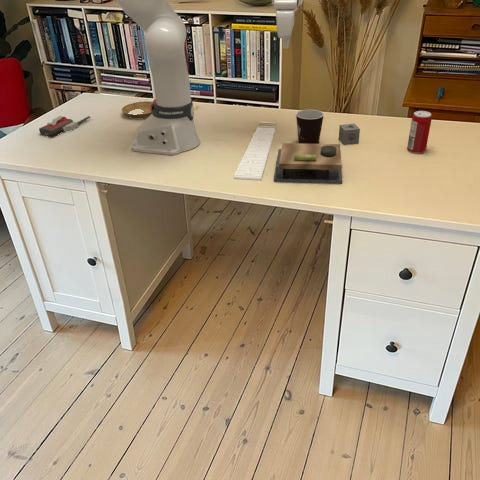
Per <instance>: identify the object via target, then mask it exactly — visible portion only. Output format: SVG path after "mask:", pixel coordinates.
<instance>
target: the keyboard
mask: <svg viewBox="0 0 480 480" xmlns="http://www.w3.org/2000/svg"><path fill="white" fill-rule="evenodd" d="M259 123H260V124H261V123H265V124H278V122H276V121H275V122H274V121H259ZM275 131H276V126H275V125H273V126H270V125H266V126H265V125H258V126H257V128H256V130H255V132H254V134H253V136H252V137H251V140H250V141H249V144H248V146H247V148H246V150H245V153H244V154H243V157H242V158H241V160H240V162H239V164H238V166H237V169H236V171H235V173H234V175H233V180H241V181H243V180H244V181H245V180H246V181H263V180H262V179H263V175H264V172H265V169H266V165H267V163H268V158H269V153H270V150H271V148H272V144H273V143H272V142H273V139H274V135H275Z"/></svg>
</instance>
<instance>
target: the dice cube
mask: <svg viewBox="0 0 480 480" xmlns="http://www.w3.org/2000/svg"><path fill="white" fill-rule="evenodd" d="M338 126H339V129H338V140H339V142H340V143H341V144H342V145H343V146H350V145H359V141H360V133H361V128H360V127H359V126H357V124H355V123H345V124H339V125H338Z"/></svg>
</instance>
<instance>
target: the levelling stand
mask: <svg viewBox="0 0 480 480" xmlns="http://www.w3.org/2000/svg"><path fill="white" fill-rule="evenodd" d="M280 155H281V148H280V149H279V148H278V151H277V156H276V160H275V161H276V162H275V168H274V174H273V183H290V184H291V183H294V184H296V183H298V184H304V183H306V184H328V185H329V184H330V185H332V184H333V185H334V184H336V185H341V184H343V171H342V169H341V170H322V169H279V162H280Z"/></svg>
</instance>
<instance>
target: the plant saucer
mask: <svg viewBox="0 0 480 480" xmlns="http://www.w3.org/2000/svg"><path fill="white" fill-rule="evenodd" d="M152 102H153V101H136V102H133V103H129V104H126V105H125V106H123V107H122V108H121V112H122V113H123V114H124V115H125V116H127V117H129V118H130V117H131V118H130V119H134V118H143V119H147V118H148V117H149V116H150V115H151V114H152V112H150V107H151V105H152ZM135 109H141V110H143V111H144V112H142V113H143V114H137V115H133V114H128V113H129V112H130V111H132V110H135Z"/></svg>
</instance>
